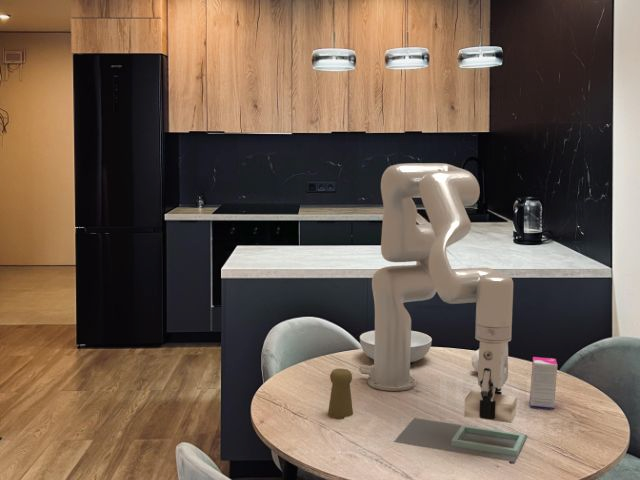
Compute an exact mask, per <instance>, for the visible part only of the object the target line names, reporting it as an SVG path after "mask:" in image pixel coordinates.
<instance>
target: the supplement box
mask: <svg viewBox="0 0 640 480" xmlns="http://www.w3.org/2000/svg"><path fill="white" fill-rule="evenodd" d="M531 365H532V366H531V380H530V390H529V408H531V409H542V410H555V402H556V401H555V400H556V389H557V376H558V363H557V359H556V358H551V357H541V356H540V357H538V356H533V357H532V364H531Z"/></svg>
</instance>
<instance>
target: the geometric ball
mask: <svg viewBox="0 0 640 480" xmlns="http://www.w3.org/2000/svg"><path fill="white" fill-rule="evenodd" d="M478 360H479V349H477V350H475V351H474V353H473V355H472V356H471V367H472V368H473V369H474V371H475V372H476V373H477V374H478Z"/></svg>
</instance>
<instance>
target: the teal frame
mask: <svg viewBox="0 0 640 480" xmlns="http://www.w3.org/2000/svg"><path fill="white" fill-rule="evenodd" d="M461 425H462V426H461V427H460V429H459V430H458V432H457V433H456V435H455V436H454V437H453V439H452V440H451V446H456V447H462V448H468V449H474V450H481V451H487V452H493V453H499V454H505V455H511V456H517V455H518V453H519V451H520V449H521V450H522V448H523V446H524V444H525V442H526V440H525V435H526V434H522V433H517V432H510V431H504V430H497V429H492V428H491V429H490V428H485V427H478V426H477V427H476V426H470V425H465V424H461ZM465 432H467V433H473V434H480V435H486V436H492V437H499V438H505V439H512V440H517V442H516V444H515V446H514V448H507V447H501V446H495V445H488V444H482V443H476V442H470V441H463V440H460V439H461V438H462V436H463V435H464V433H465ZM524 441H525V442H524ZM523 443H524V444H523ZM522 445H523V446H522ZM521 447H522V448H521ZM520 452H521V451H520ZM519 454H520V453H519ZM518 456H519V455H518Z"/></svg>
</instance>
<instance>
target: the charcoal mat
mask: <svg viewBox="0 0 640 480" xmlns="http://www.w3.org/2000/svg"><path fill="white" fill-rule="evenodd" d="M462 425H463V424H456V423H448V422H444V421H436V420H429V419H423V418H416V417H414V418H413V419H412V420H411V421H410V423H408V425H406V426H405V428H404V429H403V430H402V431H401V433H399V435H398V436H397V437H396V438H395V439H394V440H393V442H394V443H396V444H397V443H398V444H404V445H408V446H409V445H411V446H415V447H422V448H428V449H435V450H439V451H446V452H453V453H459V454H462V455H463V454H464V455H471V456H477V457H482V458H483V457H484V458H489V459H495V460H501V461H506V462H508V463H509V464H515V463H516V460H517V459H518V458H519V455H520V453H521V451H522V449H523V446H524V444H525V442H526V439H528V435H527V434H524V435H525V441H524V443H523V445H522V447H521V449H520V451H519V453H518V455H517V456H511V455H505V454H499V453H493V452H487V451H481V450H474V449H468V448H462V447H456V446H451V440H452V439H453V437H454V436H455V435H456V433H457V432H458V430H459V429H460V427H461V426H462ZM460 440H463V441H470V442H476V443H482V444H488V445H495V446H501V447H507V448H514V446H515V444H516V442H517V440H512V439H505V438H499V437H492V436H486V435H480V434H473V433H467V432H465V433H464V435H463V436H462V438H461V439H460Z"/></svg>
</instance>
